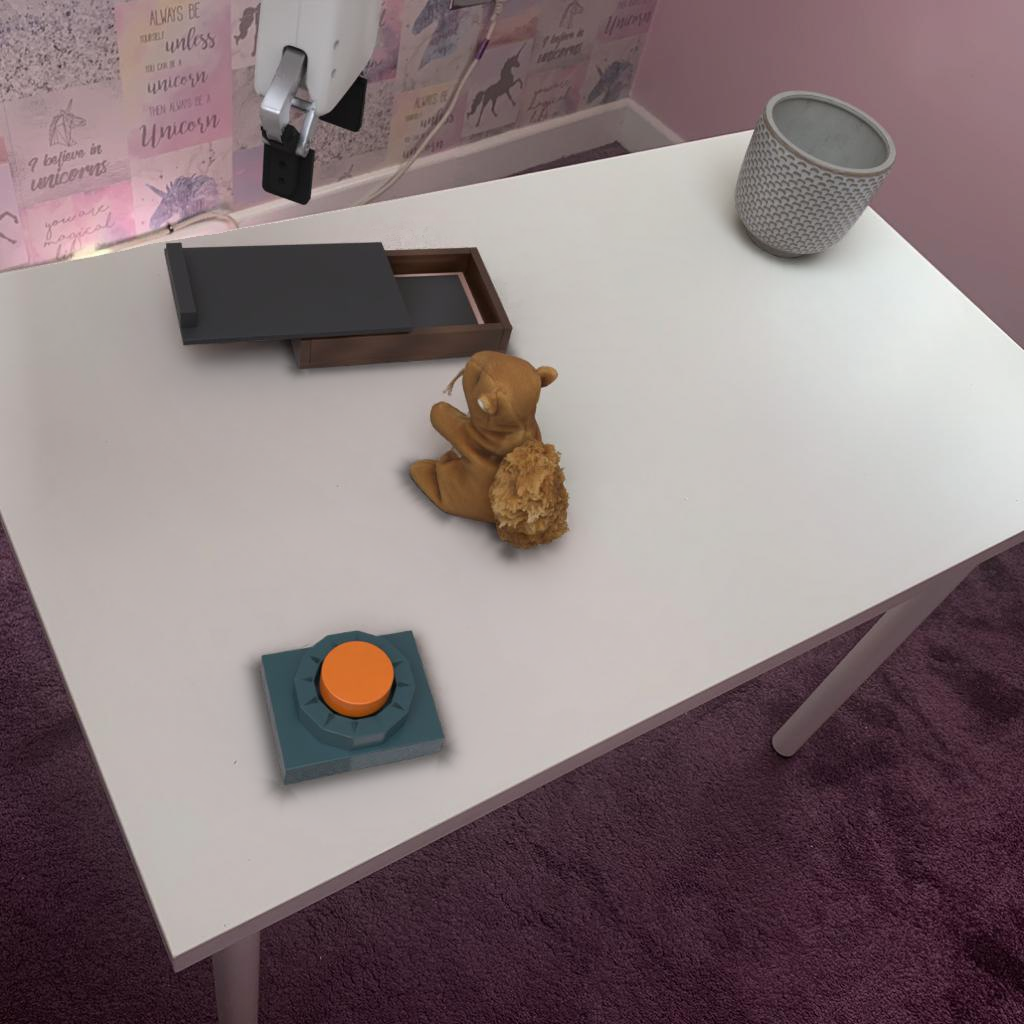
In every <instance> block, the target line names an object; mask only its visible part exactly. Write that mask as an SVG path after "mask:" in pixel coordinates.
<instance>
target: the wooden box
mask: <svg viewBox="0 0 1024 1024" xmlns="http://www.w3.org/2000/svg"><path fill="white" fill-rule="evenodd" d="M384 250H385V253H386V255H387V258H388V261H389V263H390V266H391V269H392V271H393V274H394V277H395V279H396V282H397V285H398V287H399V290H400V293H401V295H402V298H403V301H404V304H405V306H406V309H407V312H408V314H409V317H410V320H411V322H412V325H413V330H412V332H397V333H381V334H364V335H348V336H332V337H315V338H299V339H290V343H291V346H292V349H293V353H294V357H295V361H296V363H297V368H298V369H299V370H300V369H301V370H302V369H303V370H304V369H316V368H329V367H330V368H331V367H344V366H358V365H371V364H373V365H374V364H385V363H387V364H388V363H399V362H400V363H401V362H413V361H429V360H430V361H431V360H441V359H442V360H443V359H458V358H471V357H472V356H473V355H474V354H475V353H478V352H481V351H494V352H500V353H504V354H507V349H508V346H509V343H510V339H511V337H512V332H513V329H514V327H513V326H512V324H511V321H510V319H509V316H508V313H507V312H506V310H505V308H504V306H503V304H502V301H501V298H500V297H499V294H498V292H497V289H496V288H495V285H494V283H493V281H492V278H491V276H490V273H489V272H488V269H487V267H486V264H485V263H484V261H483V259H482V256H481V254H480V251H479V249H478V247H477V246H471V247H441V248H438V247H437V248H411V249H409V248H408V249H384Z"/></svg>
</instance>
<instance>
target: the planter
mask: <svg viewBox="0 0 1024 1024" xmlns="http://www.w3.org/2000/svg"><path fill="white" fill-rule="evenodd" d="M896 160H897V148H896V145H895V143H894V140H893V138H892V137H891V136H890V134H889V133H888V131H887V130H886V129H885V128H884V127H883V126H882V125H881V124H880V123H879V122H878V121H877V120H876V119H874V118H873V117H872V116H870V115H869V114H868V113H866V112H864V111H863V110H861V109H860V108H858V107H856V106H854V105H853V104H850V103H848V102H846V101H844V100H841V99H839V98H837V97H833V96H830V95H827V94H823V93H820V92H815V91H809V90H808V91H807V90H788V91H783V92H780V93H777V94H775V95H773V96H771V98H770V99H768V100H767V102H766V103H765V105H764V106H763V108H762V110H761V112H760V114H759V117H758V119H757V121H756V124H755V127H754V130H753V132H752V134H751V138H750V140H749V143H748V145H747V149H746V151H745V154H744V156H743V160H742V163H741V166H740V169H739V172H738V175H737V180H736V184H735V191H734V205H735V208H736V209H735V210H736V212H737V214H738V215H737V216H738V217H739V219H740V220H741V222H742V224H743V225H744V227H745V230H746V233H747V235H748V237H749V239H750V240H751V241H752V242H753V243H754V244H755V245H756V246H758V248H760V249H761V250H763V251H765V252H767V253H768V254H771V255H773V256H776V257H780V258H789V259H792V258H798V257H801V256H803V255H810V254H816V253H817V254H818V253H822V252H823V251H826V250H829V249H831V248H832V247H834V246H835V245H836V244H838V243H840V242H841V240H842V239H843V238H844V237H845V236H846V235H847V234H848V233H849V232H850V230H852V228H853V227H854V225H855V224H856V223H857V221H858V220H859V219H860V217H862V215H863V213H864V212H865V211H866V210H867V207H868V206H869V205H870V203H871V202H872V200H873V199H874V197H875V195H877V193H878V191H880V188H881V187H882V185H883V184H884V183H885V181H886V179H887V178H888V176H889V175H890V173H891V172H892V170H893V167H894V165H895V163H896Z"/></svg>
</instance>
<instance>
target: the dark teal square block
mask: <svg viewBox="0 0 1024 1024" xmlns="http://www.w3.org/2000/svg"><path fill="white" fill-rule="evenodd" d="M351 641H362V642H367V643H370V644H373V645H375V646H377V647H378V648H380V649H381V650H382V651H383V652H384V653H385V654H386V655H387V656H388V658H389V659H390V661H391V663H392V666H393V670H394V679H393V683H392V687H391V690H390V694H389V697H388V699H387V701H386V702H385V704H384V705H383V706H382V707H381V708H380V709H379V710H377V711H376V712H374V713H372V714H370V715H367V716H362V717H349V716H345V715H342V714H340V713H338V712H336V711H334V710H333V709H331V708H330V707H329V706H328V705H327V704H326V702H325V701H324V699H323V697H322V695H321V692H320V687H319V682H320V675H321V669H322V665H323V662H324V659H325V658H326V656H327V655H328V653H329V652H330V651H331V650H333V649H334V648H335V647H337V646H339V645H341V644H343V643H346V642H351ZM259 673H260V678H261V683H262V687H263V692H264V697H265V701H266V702H265V703H266V706H267V711H268V716H269V721H270V727H271V731H272V734H273V741H274V745H275V749H276V754H277V758H278V759H277V760H278V764H279V768H280V773H281V777H282V782H283V785H285V786H286V785H291V784H294V783H299V782H304V781H309V780H313V779H318V778H323V777H328V776H333V775H337V774H341V773H346V772H351V771H355V770H356V771H357V770H360V769H365V768H370V767H375V766H379V765H383V764H389V763H393V762H394V763H395V762H398V761H404V760H409V759H413V758H416V757H422V756H427V755H431V754H436V753H440V751H441V747H442V745H443V743H444V740H445V733H444V731H443V727H442V724H441V721H440V718H439V715H438V710H437V707H436V704H435V701H434V697H433V695H432V692H431V691H432V690H431V688H430V685H429V681H428V679H427V675H426V671H425V668H424V665H423V661H422V658H421V656H420V652H419V648H418V645H417V642H416V639H415V636H414V632H413V630H412V629H411V630H405V631H399V632H393V633H392V632H391V633H386V634H381V635H375V634H371V633H367V632H364V631H361V630H350V631H345V632H344V631H343V632H338V633H332V634H327V635H325V636H324V637H322V639H320V640H318V642H316V643H315V644H313V645H312V646H310V647H304V648H298V649H297V648H296V649H291V650H285V651H279V652H274V653H267V654H262V655H261V658H260V669H259Z"/></svg>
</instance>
